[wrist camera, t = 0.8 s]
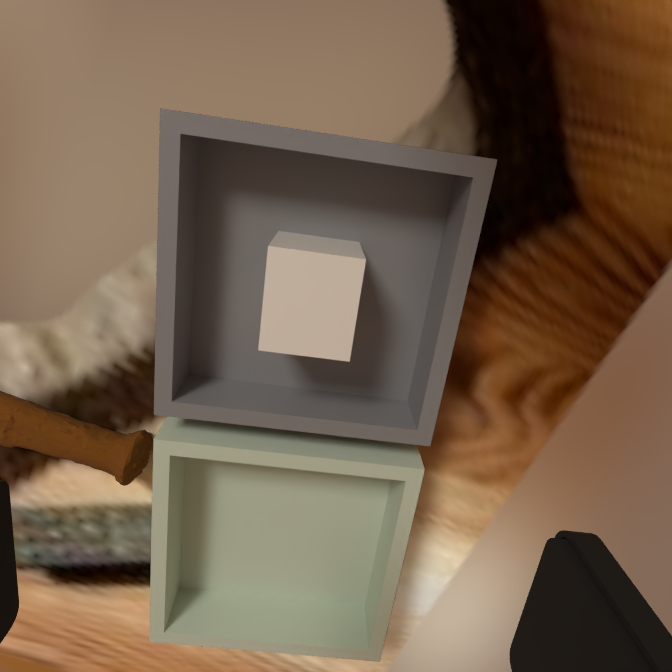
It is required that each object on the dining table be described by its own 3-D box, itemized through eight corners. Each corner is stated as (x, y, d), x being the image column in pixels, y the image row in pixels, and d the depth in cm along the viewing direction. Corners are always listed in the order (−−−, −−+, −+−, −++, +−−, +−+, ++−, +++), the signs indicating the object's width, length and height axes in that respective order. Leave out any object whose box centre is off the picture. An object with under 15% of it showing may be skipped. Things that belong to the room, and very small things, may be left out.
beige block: (278, 230, 27) (267, 245, 22) (359, 241, 27) (366, 259, 22) (269, 318, 28) (258, 350, 23) (345, 328, 28) (349, 361, 24)
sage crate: (177, 401, 31) (153, 439, 27) (411, 428, 32) (424, 469, 28) (170, 584, 36) (149, 641, 32) (373, 604, 37) (379, 661, 33)
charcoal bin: (187, 117, 26) (160, 108, 21) (470, 159, 26) (497, 159, 22) (178, 379, 30) (153, 414, 26) (416, 407, 31) (430, 446, 27)
